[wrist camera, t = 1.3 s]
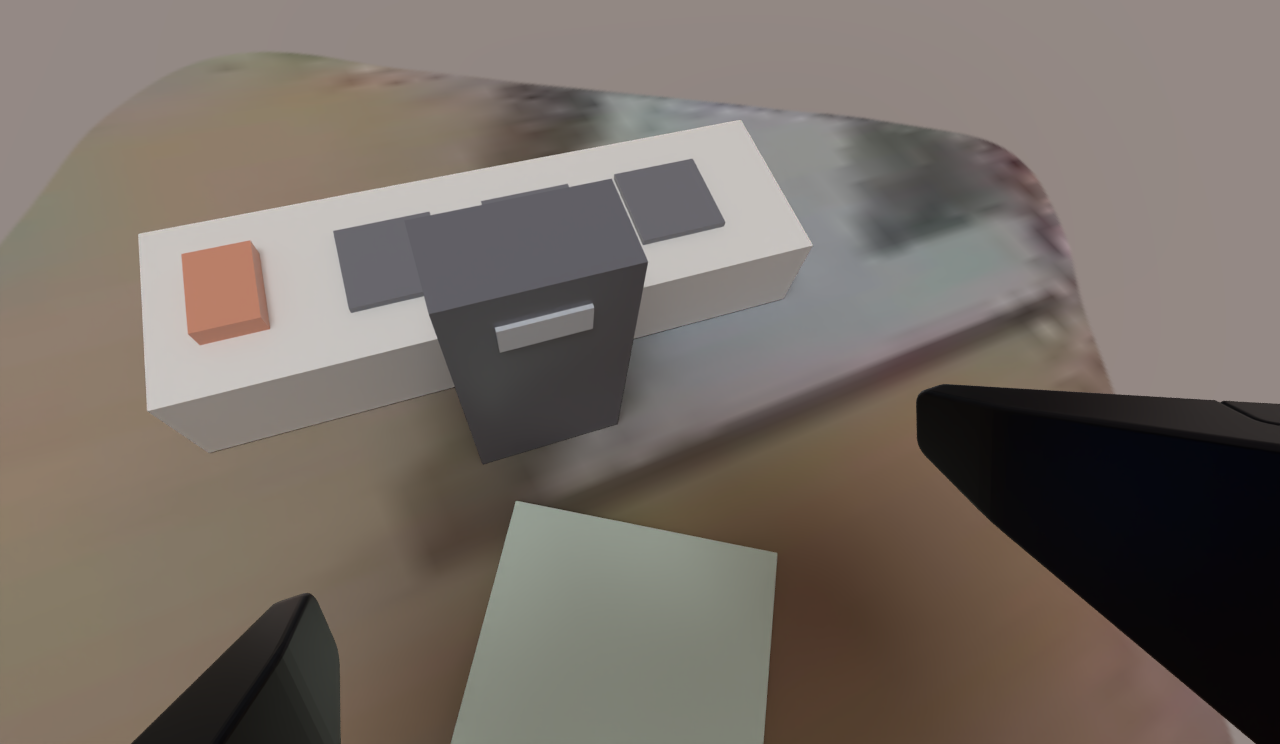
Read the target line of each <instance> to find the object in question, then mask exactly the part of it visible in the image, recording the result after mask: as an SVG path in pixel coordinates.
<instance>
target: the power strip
mask: <svg viewBox="0 0 1280 744" xmlns="http://www.w3.org/2000/svg"><path fill="white" fill-rule="evenodd" d="M607 179H612V180H613V183H614V185H615V187H616V189H617V192H618V194H619V196H620V199H621V201H622V203H623V205H624V208H625V210H626V212H627V214H628V217H629V219H630V221H631V224H632V226H633V228H634V230H635V233H636V235H637V237H638V240H639V242H640V244H641V246H642V249H643V251H644V253H645V255H646V258H647V260H648V266H647V271H646V276H645V282H644V287H643V292H642V297H641V303H640V308H639V313H638V318H637V324H636V329H635V334H634V339H635V338H639V337H643V336H646V335H650V334H654V333H658V332H661V331H665V330H669V329H672V328H676V327H680V326H684V325H687V324H691V323H695V322H699V321H702V320H706V319H710V318H713V317H717V316H721V315H725V314H728V313H732V312H736V311H739V310H743V309H747V308H751V307H754V306H758V305H762V304H766V303H769V302H773V301H777V300H780V299H784V297H785V295H786V293H787V292H788V290H789V288H790V286H791V284H792V282H793V281H794V279H795V277H796V275H797V273H798V272H799V270H800V268H801V266H802V264H803V262H804V261H805V259H806V257H807V255H808V253H809V252H810V250H811V248H812V246H813V245H812V243H811V241H810V239H809V238H808V236H807V234H806V232H805V231H804V229H803V227H802V225H801V224H800V222H799V220H798V219H797V217H796V215H795V213H794V212H793V210H792V208H791V206H790V205H789V203H788V201H787V199H786V198H785V196H784V194H783V192H782V191H781V189H780V187H779V185H778V184H777V182H776V180H775V178H774V177H773V175H772V173H771V171H770V170H769V168H768V166H767V164H766V163H765V161H764V159H763V157H762V156H761V154H760V152H759V150H758V149H757V147H756V145H755V143H754V142H753V140H752V138H751V136H750V135H749V133H748V131H747V129H746V128H745V126H744V124H743V122H742V121H741V120H737V121H732V122H726V123H721V124H716V125H711V126H705V127H700V128H695V129H689V130H684V131H679V132H674V133H668V134H663V135H658V136H653V137H647V138H642V139H637V140H631V141H626V142H621V143H616V144H610V145H605V146H600V147H595V148H589V149H584V150H579V151H573V152H568V153H563V154H558V155H552V156H547V157H542V158H537V159H531V160H526V161H521V162H515V163H510V164H505V165H500V166H494V167H489V168H484V169H479V170H473V171H468V172H463V173H457V174H452V175H447V176H442V177H436V178H431V179H426V180H420V181H415V182H410V183H405V184H399V185H394V186H389V187H384V188H378V189H373V190H368V191H362V192H357V193H352V194H347V195H341V196H336V197H331V198H326V199H320V200H315V201H310V202H304V203H299V204H294V205H289V206H283V207H278V208H273V209H268V210H262V211H257V212H252V213H246V214H241V215H236V216H231V217H225V218H220V219H215V220H209V221H204V222H199V223H194V224H188V225H183V226H178V227H173V228H167V229H162V230H157V231H151V232H146V233H141V234H138V236H139V256H140V276H141V296H142V316H143V336H144V356H145V376H146V396H147V411H148V412H149V413H151V414H152V415H154V416H155V417H157V418H158V419H160V420H161V421H162V422H164V423H165V424H167V425H168V426H170V427H171V428H173V429H174V430H176V431H177V432H179V433H180V434H182V435H183V436H185V437H186V438H188V439H189V440H190V441H192V442H193V443H195V444H196V445H198V446H199V447H201V448H202V449H204V450H205V451H207V452H208V453H211V452H214V451H218V450H222V449H226V448H229V447H233V446H237V445H241V444H244V443H248V442H252V441H255V440H259V439H263V438H267V437H270V436H274V435H278V434H282V433H285V432H289V431H293V430H296V429H300V428H304V427H308V426H311V425H315V424H319V423H322V422H326V421H330V420H334V419H337V418H341V417H345V416H349V415H352V414H356V413H360V412H363V411H367V410H371V409H375V408H378V407H382V406H386V405H389V404H393V403H397V402H401V401H404V400H408V399H412V398H416V397H419V396H423V395H427V394H430V393H434V392H438V391H442V390H445V389H449V388H453V387H455V386H454V383H453V381H452V378H451V375H450V372H449V369H448V367H447V364H446V361H445V358H444V355H443V353H442V350H441V347H440V344H439V342H438V339H437V336H436V333H435V330H434V328H433V325H432V322H431V319H430V317H429V314H428V310H427V306H426V302H425V298H424V294H423V291H422V287H421V283H420V279H419V275H418V271H417V268H416V264H415V260H414V256H413V252H412V248H411V245H410V241H409V237H408V233H407V229H406V225H405V220H410V219H415V218H420V217H425V216H430V215H434V214H439V213H444V212H449V211H454V210H459V209H464V208H469V207H474V206H479V205H484V204H489V203H494V202H499V201H503V200H508V199H513V198H518V197H523V196H528V195H533V194H538V193H543V192H548V191H553V190H558V189H563V188H568V187H572V186H577V185H582V184H587V183H592V182H597V181H602V180H607Z"/></svg>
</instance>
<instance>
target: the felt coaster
mask: <svg viewBox="0 0 1280 744" xmlns="http://www.w3.org/2000/svg"><path fill="white" fill-rule="evenodd" d="M776 566H777V553H775V552H770V551H765V550H760V549H755V548H750V547H745V546H740V545H735V544H730V543H725V542H720V541H715V540H710V539H705V538H700V537H695V536H690V535H685V534H680V533H675V532H670V531H665V530H660V529H655V528H650V527H645V526H640V525H635V524H630V523H625V522H620V521H615V520H610V519H605V518H600V517H595V516H590V515H585V514H580V513H575V512H570V511H565V510H560V509H555V508H550V507H545V506H540V505H535V504H530V503H525V502H520V501H516V503H515V506H514V510H513V514H512V518H511V521H510V525H509V529H508V532H507V536H506V540H505V544H504V547H503V551H502V555H501V558H500V562H499V566H498V570H497V573H496V577H495V581H494V584H493V588H492V592H491V596H490V599H489V603H488V607H487V611H486V614H485V618H484V622H483V625H482V629H481V633H480V637H479V640H478V644H477V648H476V651H475V655H474V659H473V663H472V666H471V670H470V674H469V677H468V681H467V685H466V689H465V692H464V696H463V700H462V703H461V707H460V711H459V715H458V718H457V722H456V726H455V729H454V733H453V737H452V741H451V744H763V743H764V729H765V715H766V702H767V688H768V675H769V661H770V648H771V634H772V621H773V607H774V594H775V580H776Z"/></svg>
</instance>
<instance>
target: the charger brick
mask: <svg viewBox="0 0 1280 744" xmlns="http://www.w3.org/2000/svg"><path fill="white" fill-rule="evenodd" d="M405 225H406V229H407V233H408V237H409V241H410V245H411V248H412V252H413V256H414V260H415V264H416V268H417V271H418V275H419V279H420V283H421V287H422V291H423V294H424V298H425V302H426V306H427V310H428V314H429V317H430V319H431V322H432V325H433V328H434V330H435V333H436V336H437V339H438V342H439V344H440V347H441V350H442V353H443V355H444V358H445V361H446V364H447V367H448V369H449V372H450V375H451V378H452V381H453V383H454V386H455V389H456V392H457V394H458V397H459V400H460V403H461V406H462V408H463V411H464V414H465V417H466V419H467V422H468V425H469V428H470V431H471V433H472V436H473V439H474V442H475V445H476V447H477V450H478V453H479V456H480V458H481V461H482V464H486V463H489V462H493V461H496V460H499V459H503V458H506V457H509V456H513V455H516V454H519V453H523V452H526V451H529V450H533V449H536V448H539V447H543V446H546V445H549V444H553V443H556V442H559V441H563V440H566V439H569V438H573V437H576V436H579V435H583V434H586V433H589V432H593V431H596V430H599V429H603V428H606V427H609V426H613V425H616V424H617V423H618V418H619V413H620V408H621V402H622V397H623V392H624V387H625V381H626V376H627V371H628V366H629V360H630V355H631V350H632V345H633V339H634V334H635V329H636V324H637V318H638V313H639V308H640V303H641V297H642V292H643V287H644V282H645V276H646V271H647V266H648V260H647V258H646V255H645V253H644V251H643V249H642V246H641V244H640V242H639V240H638V237H637V235H636V233H635V230H634V228H633V226H632V224H631V221H630V219H629V217H628V214H627V212H626V210H625V208H624V205H623V203H622V201H621V199H620V196H619V194H618V192H617V189H616V187H615V185H614V183H613V180H612V179H607V180H602V181H597V182H592V183H587V184H582V185H577V186H572V187H568V188H563V189H558V190H553V191H548V192H543V193H538V194H533V195H528V196H523V197H518V198H513V199H508V200H503V201H499V202H494V203H489V204H484V205H479V206H474V207H469V208H464V209H459V210H454V211H449V212H444V213H439V214H434V215H430V216H425V217H420V218H415V219H410V220H405Z"/></svg>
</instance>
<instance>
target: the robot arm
mask: <svg viewBox="0 0 1280 744" xmlns="http://www.w3.org/2000/svg"><path fill="white" fill-rule="evenodd" d="M916 413H917V441H918V445H919V447H920V449H921V451H922V452H923V454H924V455H925V456H926V457H927V458H928V459H929V460H930V461H931V462H932V463H933V464H934V465H935V466H936V467H937V468H938V469H939V470H940V471H941V472H942V473H943V474H944V475H945V476H946V477H947V478H948V479H949V480H950V481H951V482H952V483H953V484H954V485H955V486H956V487H957V488H958V489H959V490H960V491H961V492H962V493H963V494H964V495H965V496H966V497H967V498H968V499H969V501H970V502H971V503H972V504H973V505H974V506H975V507H976V508H977V509H978V510H979V511H980V512H982V513H983V514H984V515H985V516H986V517H987V518H988V519H989V520H990V521H991V522H992V523H993V524H994V525H996V526H997V527H998V528H999V529H1000V530H1001V531H1002V532H1004V533H1005V534H1006V535H1007V536H1008V537H1010V538H1011V539H1012V540H1013V541H1014V542H1015V543H1017V544H1018V545H1019V546H1020V547H1021V548H1023V549H1024V550H1025V551H1026V552H1027V553H1029V554H1030V555H1031V556H1032V557H1033V558H1035V559H1036V560H1037V561H1038V562H1039V563H1041V564H1042V565H1043V566H1044V567H1045V568H1047V569H1048V570H1049V571H1050V572H1051V573H1052V574H1054V575H1055V576H1056V577H1057V578H1058V579H1060V580H1061V581H1062V582H1063V583H1064V584H1066V585H1067V586H1068V587H1069V588H1070V589H1072V590H1073V591H1074V592H1075V593H1076V594H1078V595H1079V596H1080V597H1081V598H1082V599H1084V600H1085V601H1086V602H1087V603H1088V604H1089V605H1091V606H1092V607H1093V608H1094V609H1095V610H1097V611H1098V612H1099V613H1100V614H1101V615H1103V616H1104V617H1105V618H1106V619H1107V620H1109V621H1110V622H1111V623H1112V624H1113V625H1115V626H1116V627H1117V628H1118V629H1119V630H1120V631H1122V632H1123V633H1124V634H1125V635H1126V636H1128V637H1129V638H1130V639H1131V640H1132V641H1134V642H1135V643H1136V644H1137V645H1138V646H1140V647H1141V648H1142V649H1143V650H1144V651H1146V652H1147V653H1148V654H1149V655H1150V656H1152V657H1153V658H1154V659H1155V660H1156V661H1157V662H1159V663H1160V664H1161V665H1162V666H1163V667H1165V668H1166V669H1167V670H1168V671H1169V672H1171V673H1172V674H1173V675H1174V676H1175V677H1177V678H1178V679H1179V680H1180V681H1181V682H1183V683H1184V684H1185V685H1186V686H1187V687H1189V688H1190V689H1191V690H1192V691H1193V692H1194V693H1196V694H1197V695H1198V696H1199V697H1200V698H1202V699H1203V700H1204V701H1205V702H1206V703H1208V704H1209V705H1210V706H1211V707H1212V708H1214V709H1215V710H1216V711H1217V712H1218V713H1220V714H1221V715H1222V716H1223V717H1224V718H1226V719H1227V720H1228V721H1229V722H1230V723H1231V724H1233V725H1234V726H1235V727H1236V728H1237V729H1239V730H1240V731H1241V732H1242V733H1243V734H1245V735H1246V736H1247V737H1248V738H1250V739H1251V740H1252V741H1253V742H1254V743H1256V744H1280V404H1270V403H1269V404H1268V403H1250V402H1234V401H1222V402H1217V401H1215V400H1200V399H1182V398H1166V397H1150V396H1132V395H1117V394H1100V393H1083V392H1067V391H1050V390H1033V389H1017V388H1000V387H984V386H967V385H950V384H942V385H938V386H935V387H932V388H929V389H926V390H924V391H922V392H921V393H920V394H919V395H918V397H917V401H916ZM131 744H341V738H340V664H339V654H338V649H337V646H336V643H335V640H334V638H333V636H332V633H331V631H330V629H329V627H328V624H327V622H326V620H325V617H324V615H323V613H322V611H321V608H320V606H319V604H318V602H317V600H316V598H315V597H314V596H313V595H311V594H309V593H304V594H300V595H297V596H294V597H291V598H288V599H285V600H282V601H279V602H277V603H275V604H273V605H272V606H271V607H270V608H269V609H268V610H267V611H266V612H265V613H264V614H263V615H262V616H261V617H260V618H259V619H258V620H257V621H256V622H255V623H254V624H253V625H252V626H251V627H250V628H249V629H248V630H247V631H246V632H245V633H244V634H243V635H242V636H241V637H240V638H239V639H238V640H237V641H235V642H234V643H233V644H232V645H231V646H230V647H229V648H228V649H227V650H226V651H225V652H224V653H223V654H222V655H221V656H220V657H219V658H218V659H217V660H216V661H215V662H214V663H213V664H212V665H211V666H210V667H209V668H208V669H207V670H206V671H205V672H204V673H203V674H202V675H201V676H200V677H199V678H198V679H197V680H196V681H195V682H194V683H193V684H192V685H191V686H190V687H189V688H187V689H186V690H185V691H184V692H183V693H182V694H181V695H180V696H179V697H178V698H177V699H176V700H175V701H174V702H173V703H172V704H171V705H170V706H169V707H168V708H167V709H166V710H165V711H164V712H163V713H162V714H161V715H160V716H159V717H158V718H157V719H156V720H155V721H154V722H153V723H152V724H151V725H150V726H149V727H148V728H147V729H146V730H145V731H144V732H143V733H142V734H141V735H140V736H138V737H137V738H136V739H135V740H134V741H133V742H132V743H131Z"/></svg>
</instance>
